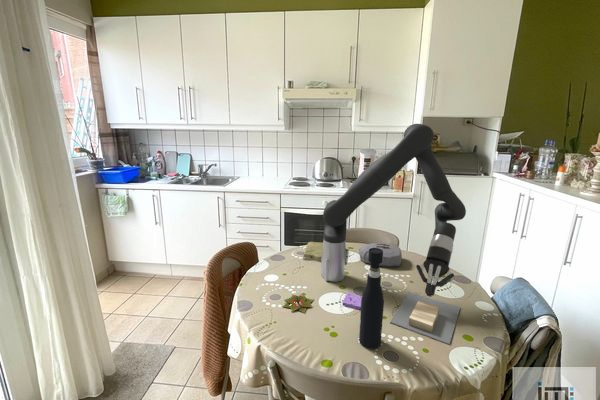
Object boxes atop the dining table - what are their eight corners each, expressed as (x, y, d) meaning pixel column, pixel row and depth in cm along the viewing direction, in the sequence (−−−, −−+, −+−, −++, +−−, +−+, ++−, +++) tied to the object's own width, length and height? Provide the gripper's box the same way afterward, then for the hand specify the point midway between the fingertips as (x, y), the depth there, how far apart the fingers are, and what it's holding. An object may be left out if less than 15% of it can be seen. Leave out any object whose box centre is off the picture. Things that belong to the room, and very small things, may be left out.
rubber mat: (408, 292, 117) (408, 291, 117) (460, 308, 108) (460, 307, 107) (389, 322, 100) (390, 321, 100) (449, 344, 90) (449, 343, 90)
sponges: (346, 296, 116) (346, 292, 115) (380, 304, 111) (380, 299, 111) (341, 306, 110) (341, 302, 109) (376, 315, 105) (377, 310, 104)
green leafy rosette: (290, 293, 118) (290, 282, 117) (319, 300, 114) (319, 289, 112) (276, 309, 108) (275, 298, 107) (307, 318, 103) (307, 306, 102)
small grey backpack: (400, 256, 149) (359, 252, 154) (402, 241, 147) (360, 236, 152) (401, 270, 135) (356, 265, 140) (403, 253, 133) (357, 248, 138)
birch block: (418, 300, 107) (409, 317, 97) (439, 306, 103) (432, 325, 94) (417, 307, 108) (408, 325, 98) (438, 313, 104) (431, 333, 94)
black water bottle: (356, 335, 94) (361, 246, 87) (376, 334, 95) (383, 245, 87) (362, 350, 88) (368, 255, 80) (383, 348, 89) (391, 254, 81)
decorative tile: (308, 246, 162) (308, 240, 161) (345, 249, 158) (346, 243, 157) (301, 262, 145) (301, 255, 144) (343, 265, 141) (343, 258, 140)
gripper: (420, 241, 110) (407, 286, 103) (460, 249, 102) (449, 298, 96) (422, 250, 115) (410, 293, 109) (460, 258, 108) (450, 305, 101)
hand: (428, 295), depth 102 cm, fingers closed
